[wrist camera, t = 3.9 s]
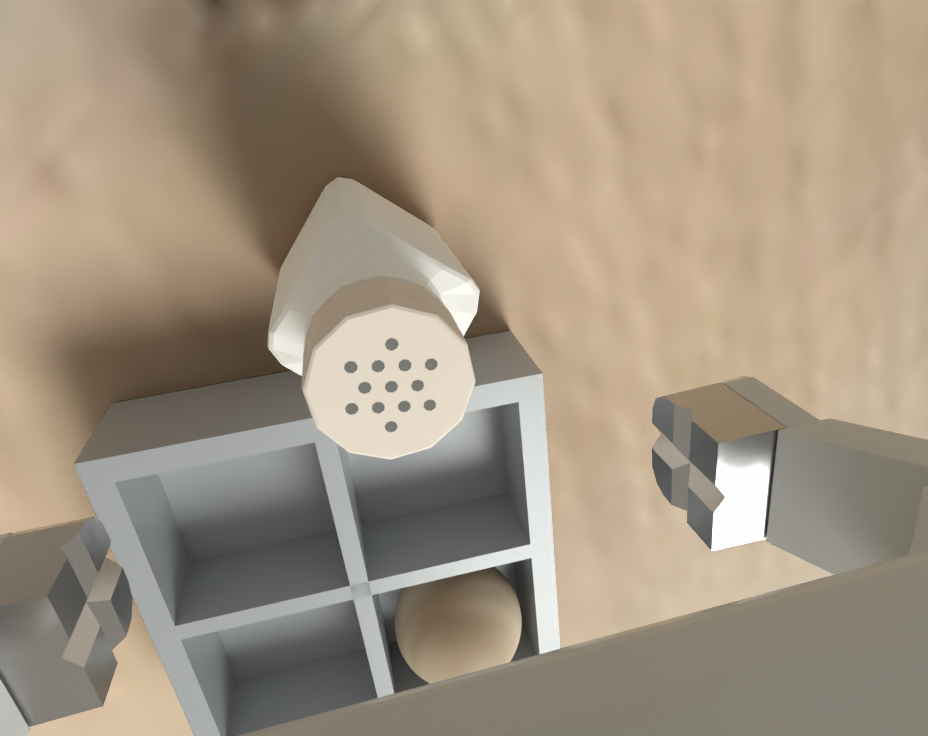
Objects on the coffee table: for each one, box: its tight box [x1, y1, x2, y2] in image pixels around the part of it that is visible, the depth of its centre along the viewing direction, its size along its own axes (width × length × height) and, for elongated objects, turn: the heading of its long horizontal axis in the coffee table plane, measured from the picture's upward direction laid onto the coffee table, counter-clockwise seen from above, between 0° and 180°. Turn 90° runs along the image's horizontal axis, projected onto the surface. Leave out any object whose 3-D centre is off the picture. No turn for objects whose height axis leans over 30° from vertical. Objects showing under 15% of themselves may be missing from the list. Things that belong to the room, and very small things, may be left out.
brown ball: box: [395, 567, 522, 684], centre depth 24 cm, size 5×5×5 cm
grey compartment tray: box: [74, 331, 560, 736], centre depth 23 cm, size 13×13×4 cm
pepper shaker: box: [267, 177, 480, 460], centre depth 16 cm, size 4×4×10 cm
